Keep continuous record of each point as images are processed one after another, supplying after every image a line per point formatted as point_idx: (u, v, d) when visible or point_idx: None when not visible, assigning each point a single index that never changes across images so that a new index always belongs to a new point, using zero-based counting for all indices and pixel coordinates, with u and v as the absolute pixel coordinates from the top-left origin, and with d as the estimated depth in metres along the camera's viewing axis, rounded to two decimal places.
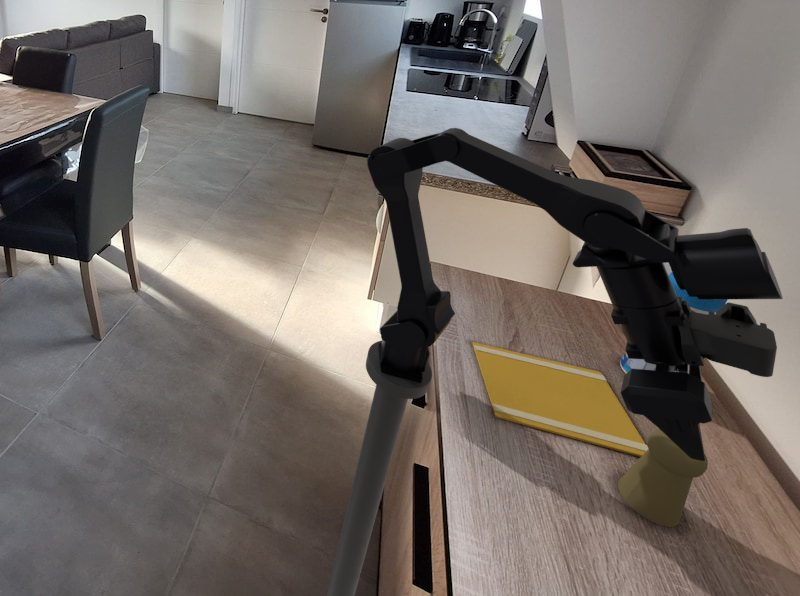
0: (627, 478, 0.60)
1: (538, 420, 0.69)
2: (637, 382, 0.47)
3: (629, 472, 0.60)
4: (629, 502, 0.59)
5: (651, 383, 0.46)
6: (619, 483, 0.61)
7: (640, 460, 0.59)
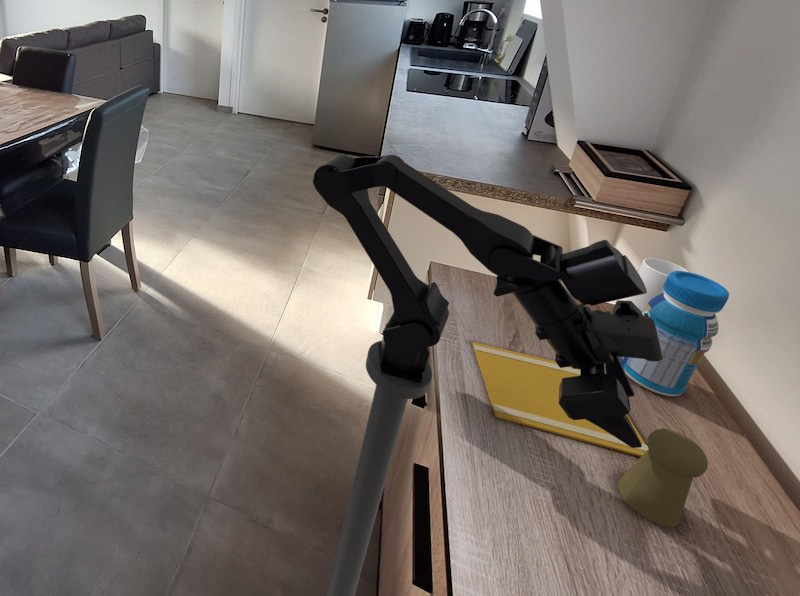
0: (627, 478, 0.60)
1: (538, 420, 0.69)
2: (568, 391, 0.55)
3: (629, 472, 0.60)
4: (629, 502, 0.59)
5: (577, 388, 0.54)
6: (619, 483, 0.61)
7: (640, 460, 0.59)
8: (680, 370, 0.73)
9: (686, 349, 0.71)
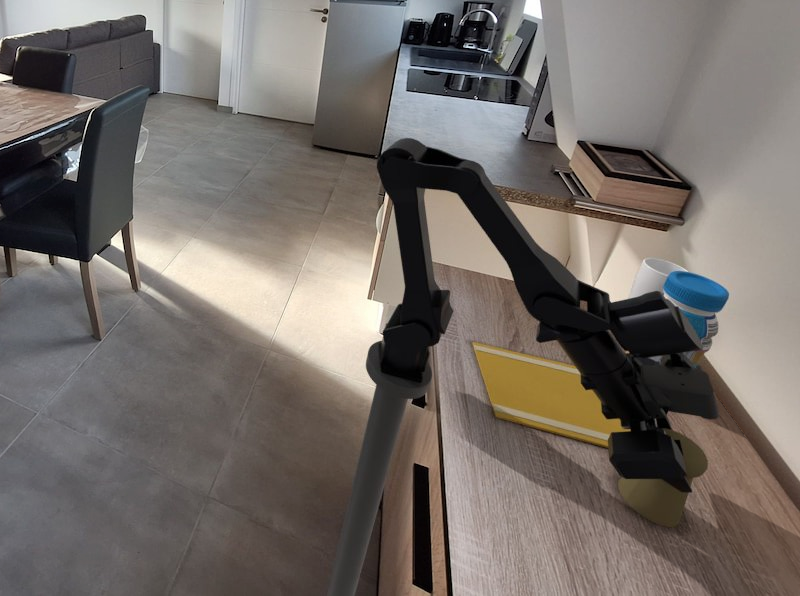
0: None
1: (538, 420, 0.69)
2: (619, 448, 0.53)
3: None
4: (629, 502, 0.59)
5: (630, 446, 0.52)
6: (619, 483, 0.61)
7: None
8: None
9: None
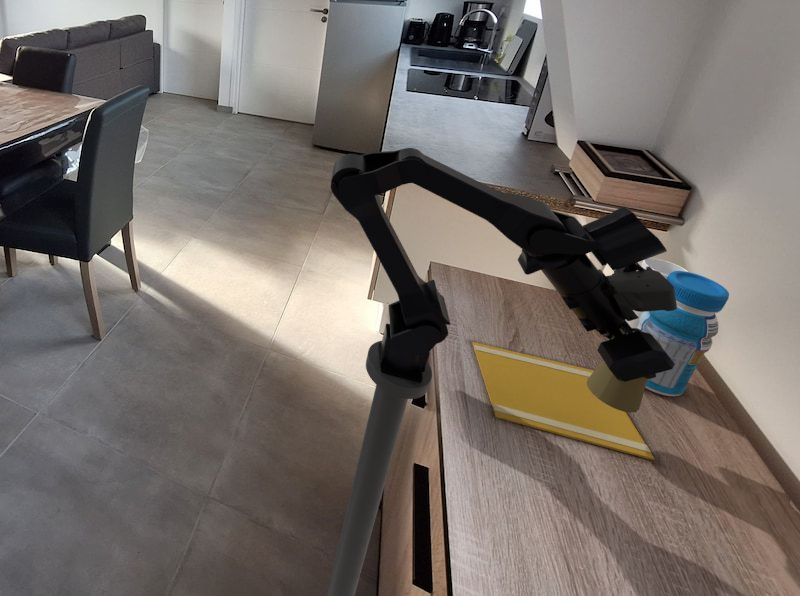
0: (597, 379, 0.66)
1: (538, 420, 0.69)
2: (616, 355, 0.57)
3: (598, 373, 0.67)
4: (603, 400, 0.65)
5: (624, 351, 0.57)
6: (589, 385, 0.68)
7: None
8: (680, 370, 0.73)
9: (686, 349, 0.71)
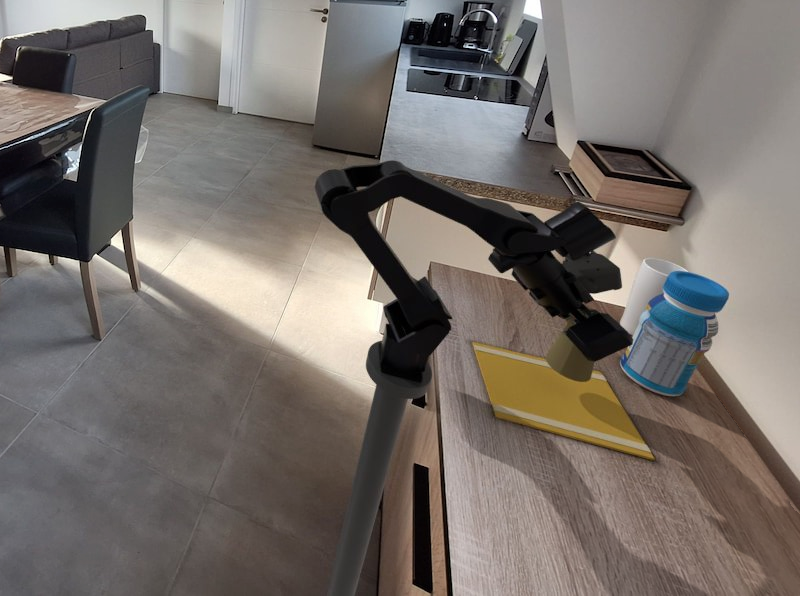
0: (556, 355, 0.73)
1: (538, 420, 0.69)
2: (586, 339, 0.62)
3: (556, 350, 0.73)
4: (563, 374, 0.72)
5: (592, 334, 0.62)
6: (549, 362, 0.74)
7: (564, 338, 0.72)
8: (680, 370, 0.73)
9: (686, 349, 0.71)
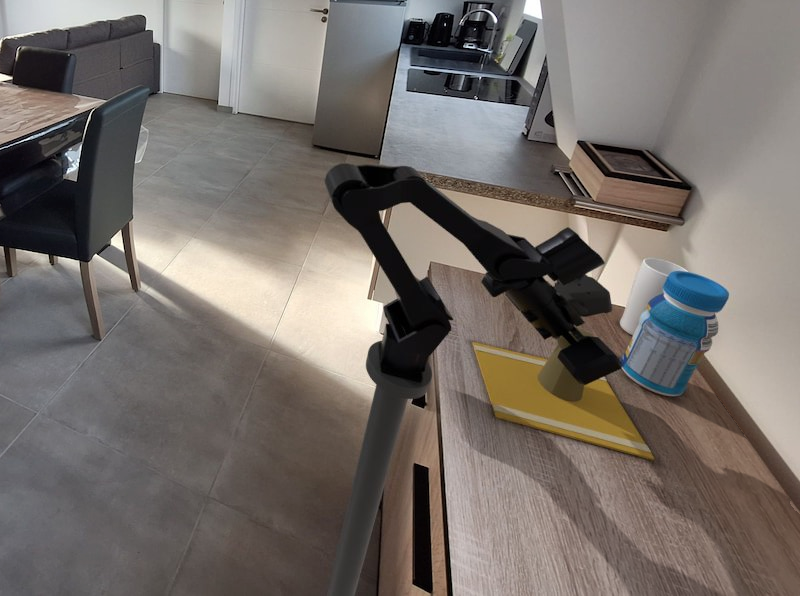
0: (548, 375, 0.74)
1: (538, 420, 0.69)
2: (576, 362, 0.64)
3: (548, 370, 0.75)
4: (555, 394, 0.74)
5: (583, 358, 0.64)
6: (541, 381, 0.76)
7: (555, 358, 0.74)
8: (680, 370, 0.73)
9: (686, 349, 0.71)
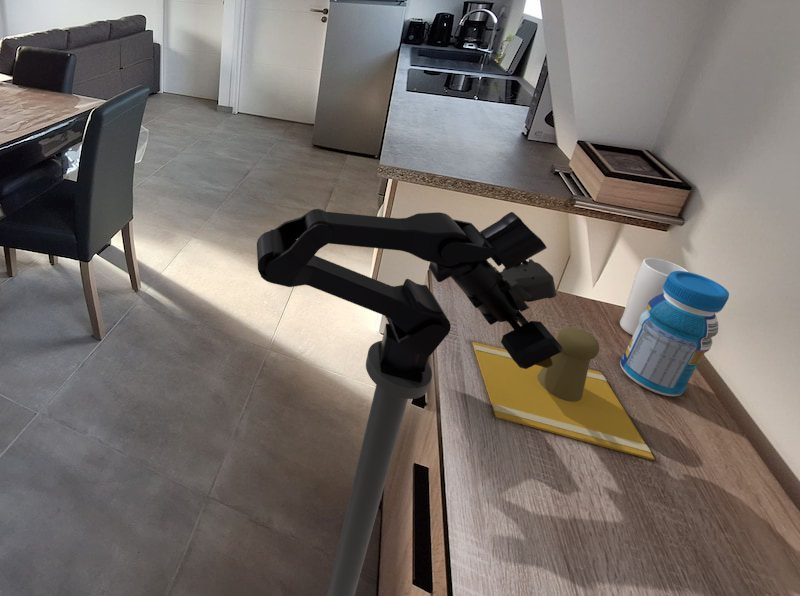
0: (548, 375, 0.74)
1: (538, 420, 0.69)
2: (517, 346, 0.64)
3: (548, 370, 0.75)
4: (555, 394, 0.74)
5: (523, 342, 0.64)
6: (541, 381, 0.76)
7: (555, 358, 0.74)
8: (680, 370, 0.73)
9: (686, 349, 0.71)
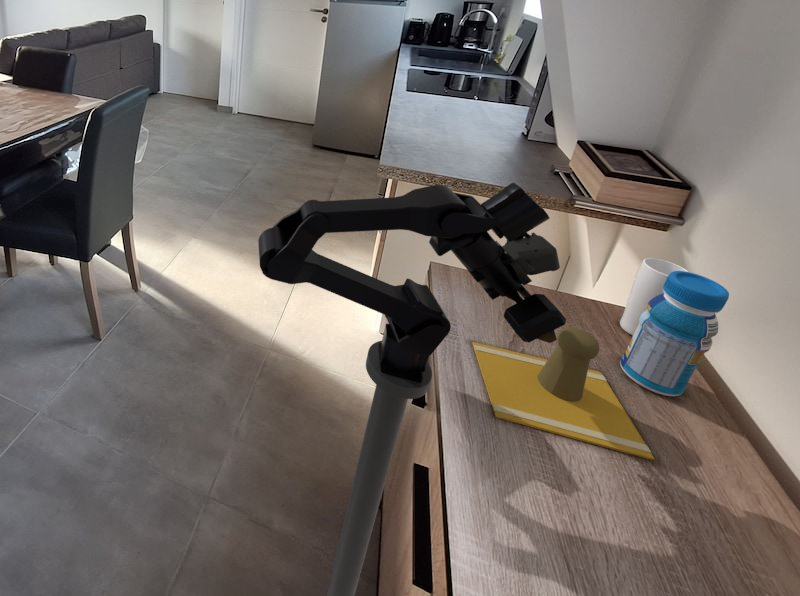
0: (548, 375, 0.74)
1: (538, 420, 0.69)
2: (520, 319, 0.62)
3: (548, 370, 0.75)
4: (555, 394, 0.74)
5: (526, 315, 0.62)
6: (541, 381, 0.76)
7: (555, 358, 0.74)
8: (680, 370, 0.73)
9: (686, 349, 0.71)
